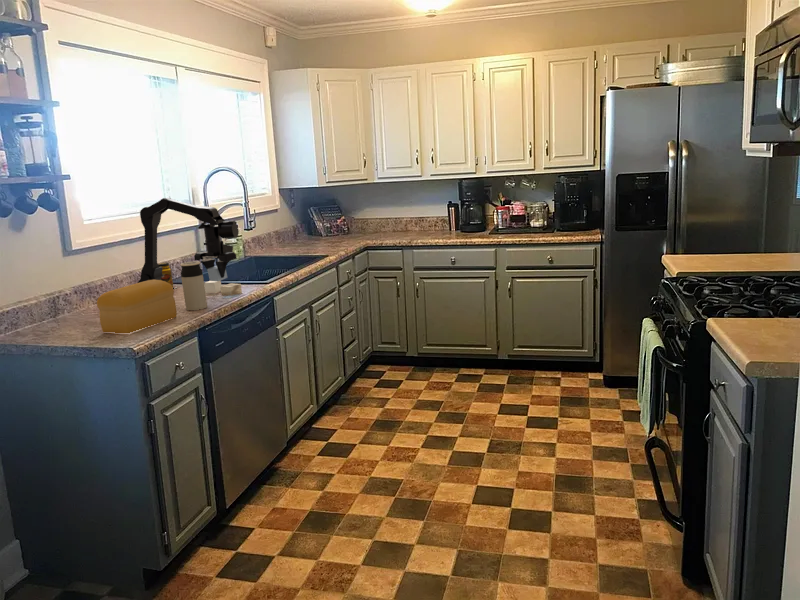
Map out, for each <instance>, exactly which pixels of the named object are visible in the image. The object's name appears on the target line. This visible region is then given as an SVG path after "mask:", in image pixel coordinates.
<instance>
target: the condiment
mask: <svg viewBox="0 0 800 600" xmlns="http://www.w3.org/2000/svg"><path fill="white" fill-rule="evenodd" d="M158 265H159V267H162V268H163V269H162V274H163V276H162V277H161V281H165V282H167V283H169V284H171V285H172V287H175V286H174V282H173V275H172V269H171V268H170V263H169V262H160V263H158ZM176 288H177V289H178V287H175V288H174V290H175V289H176Z"/></svg>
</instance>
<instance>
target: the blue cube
mask: <svg viewBox="0 0 800 600" xmlns="http://www.w3.org/2000/svg"><path fill="white" fill-rule="evenodd" d="M206 270H207V273H208V275H207V276H208V278H209V281H220V280H221V281H223V280H225V279H228V274H227V269H226V270H225V274H224V277H223V278H221V276H220V273H219V270H218V268H217V265H214V267H211V268H209V269H206Z"/></svg>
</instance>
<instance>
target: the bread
mask: <svg viewBox="0 0 800 600" xmlns="http://www.w3.org/2000/svg"><path fill="white" fill-rule="evenodd" d="M173 287H174V286H173ZM173 287H172V285H171V284H169V283H167V282H165V281H161V280H148V281H143V282H140V283H138V282H136V283H134V284H133V283H132V284H129V285H126V286H122V287H119V288H116V289H112V290H109V291H105V292H104V293H102V294H101V295H100V296H98V298H97V301H96V306H97V309H98V310H99V312H98V313H99V314H98V315H99V321H100V327H101V330H102V332H115V333H130V332H133V331H136V330H139V329H142V328H145V327H148V326H151V325H154V324H157V323H160V322H163V321H165V320H168V319H171V318H174V317H176V318H177V314H178V313H177V304H176V300H175V297H174V295H175V294H174V293H175V289H173ZM174 319H175V318H174ZM171 320H172V319H171ZM163 323H164V322H163Z"/></svg>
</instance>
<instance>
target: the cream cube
mask: <svg viewBox="0 0 800 600" xmlns="http://www.w3.org/2000/svg"><path fill="white" fill-rule="evenodd" d="M221 281H222V280H220V281H210V280H209V281H204V287H205V294H218V293H221V289H220V286H222V282H221Z"/></svg>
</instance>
